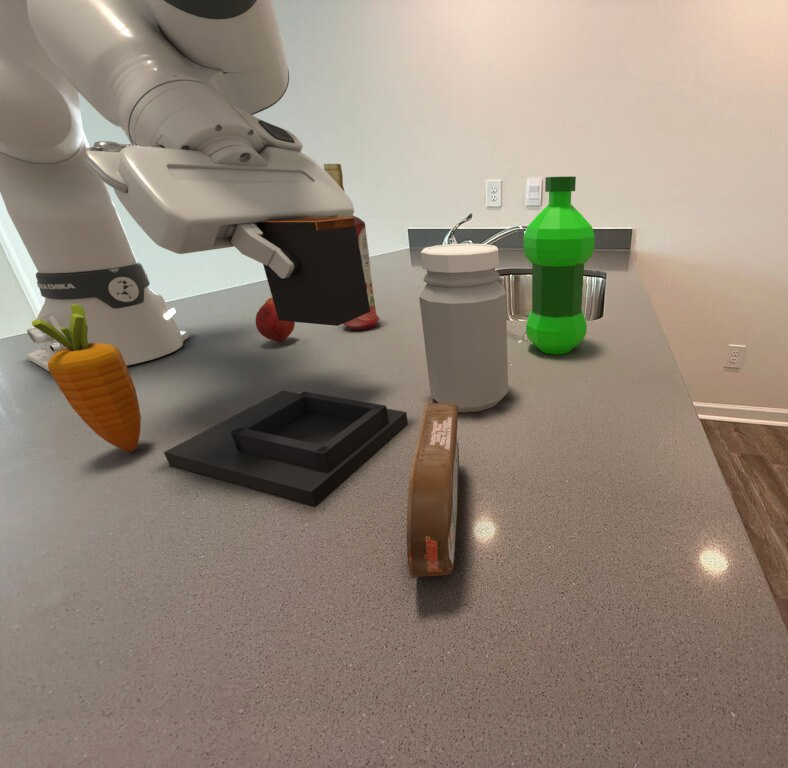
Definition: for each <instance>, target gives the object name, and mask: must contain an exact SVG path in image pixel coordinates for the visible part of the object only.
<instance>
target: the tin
mask: <svg viewBox="0 0 788 768" xmlns="http://www.w3.org/2000/svg"><path fill="white" fill-rule="evenodd" d="M458 419H459V412H458V405H457V404H452V403H438V402H431V401H427V402H426V403H425V405H424V410H423V414H422V418H421V422H420V428H419V432H418V436H417V441H416V444H415V450H414V453H413V458H412V462H411V466H410V467H411V468H410V475H409V482H408V494H407V496H408V497H407V505H406V506H407V507H406V555H407V556H406V557H407V566H408V572H409V576H410V578H411V579H416V578H417V577H418V578H419V577H439V576H447V575H450V574H452V572H453V570H454V569H455V568H454V566H455V554H456V540H457V539H456V538H457V528H458V527H457V525H458V512H459V511H458V509H459V476H460V475H459V471H460V470H459V469H460V450H459V442H458Z"/></svg>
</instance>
